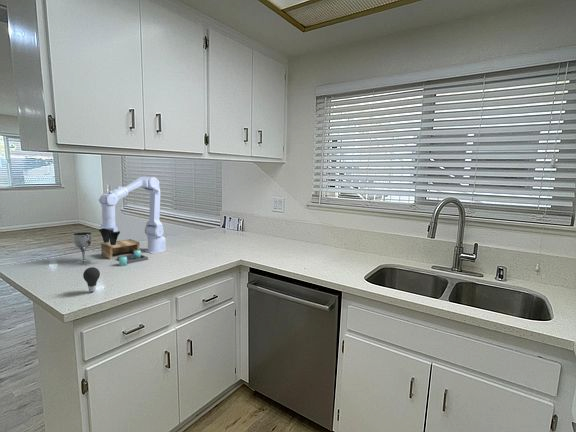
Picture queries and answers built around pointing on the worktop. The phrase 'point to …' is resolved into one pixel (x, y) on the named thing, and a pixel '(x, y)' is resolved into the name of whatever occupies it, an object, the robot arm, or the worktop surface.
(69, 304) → the worktop surface
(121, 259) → the teal rounded capsule
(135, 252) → the teal rounded cylinder
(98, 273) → the light bulb
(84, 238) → the wine glass
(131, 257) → the tray
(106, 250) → the shelf
